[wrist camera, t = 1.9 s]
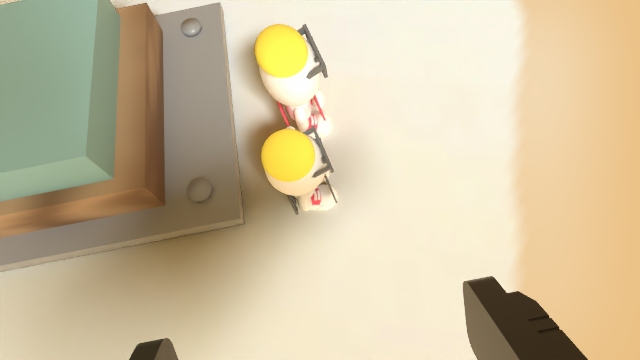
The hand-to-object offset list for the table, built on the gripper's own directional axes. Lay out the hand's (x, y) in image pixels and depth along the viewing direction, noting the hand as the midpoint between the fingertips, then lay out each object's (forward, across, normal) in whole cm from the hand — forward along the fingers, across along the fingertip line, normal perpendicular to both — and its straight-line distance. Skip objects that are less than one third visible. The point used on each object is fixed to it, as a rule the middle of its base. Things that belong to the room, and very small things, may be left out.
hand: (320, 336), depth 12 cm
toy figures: (+21, 0, 0) cm, 21 cm away
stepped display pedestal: (+24, +16, -4) cm, 29 cm away
